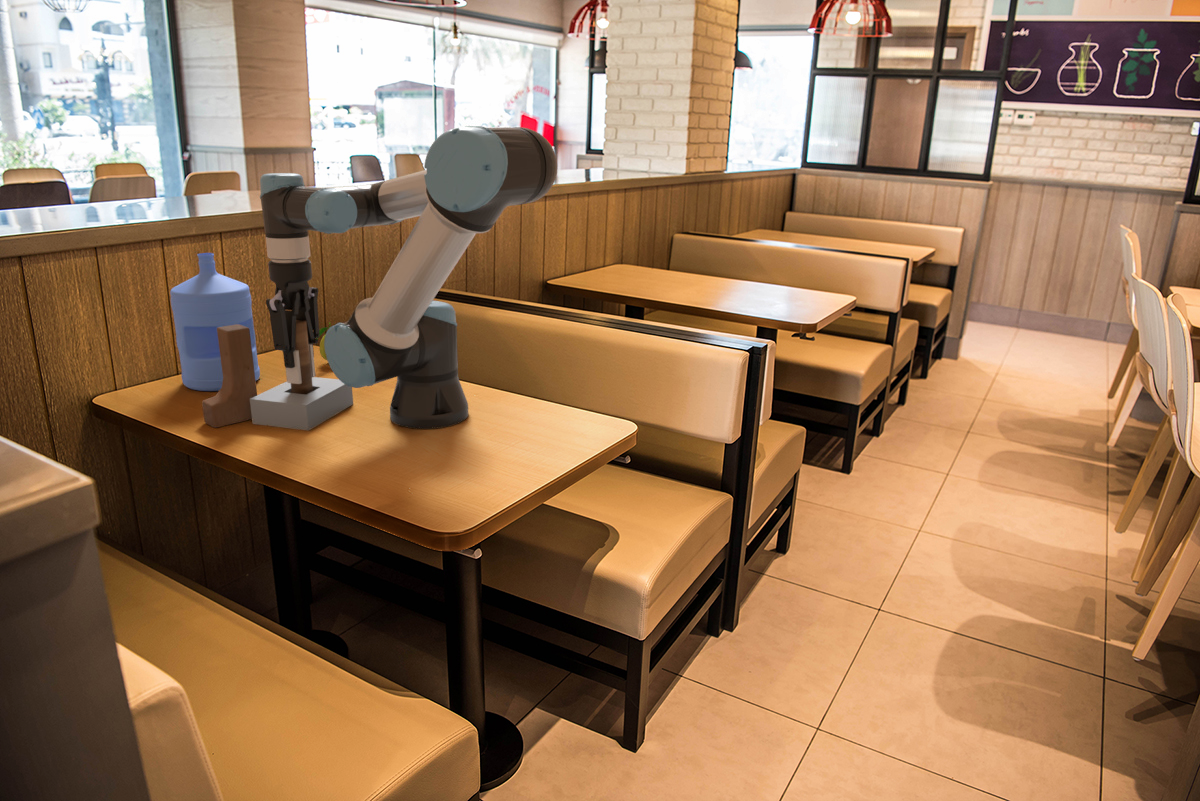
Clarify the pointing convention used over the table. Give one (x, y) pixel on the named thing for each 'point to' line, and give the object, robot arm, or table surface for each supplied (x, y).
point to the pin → (303, 359)
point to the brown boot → (233, 379)
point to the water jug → (208, 323)
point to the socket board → (301, 404)
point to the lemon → (322, 348)
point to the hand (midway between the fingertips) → (301, 379)
